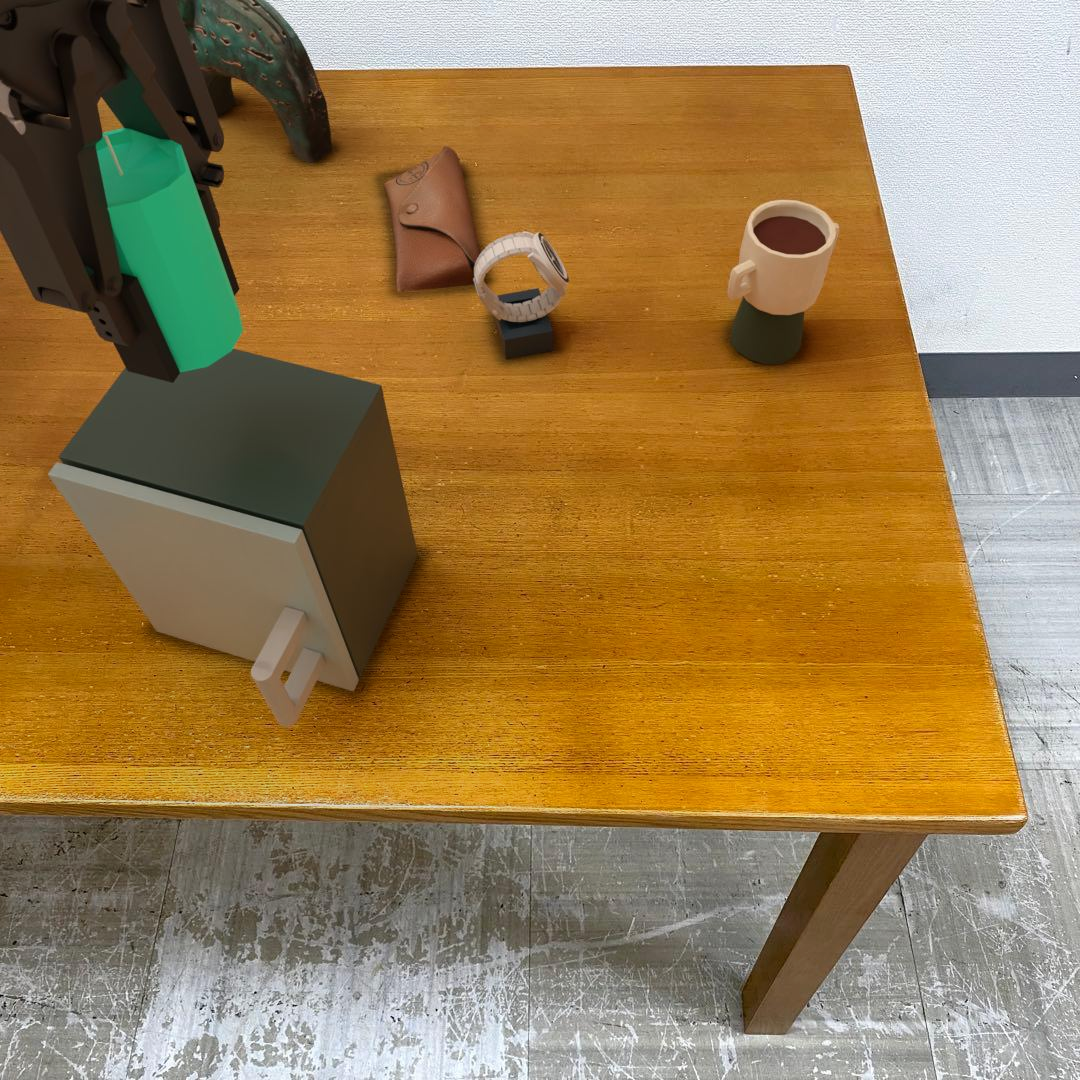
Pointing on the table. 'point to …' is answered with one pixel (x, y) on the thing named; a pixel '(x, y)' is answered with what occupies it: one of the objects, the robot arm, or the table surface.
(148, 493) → the cabinet door
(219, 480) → the cabinet
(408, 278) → the sunglasses case
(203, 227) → the candle
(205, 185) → the robot arm
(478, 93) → the table surface
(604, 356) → the table surface
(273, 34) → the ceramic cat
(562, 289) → the watch
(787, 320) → the character mug
